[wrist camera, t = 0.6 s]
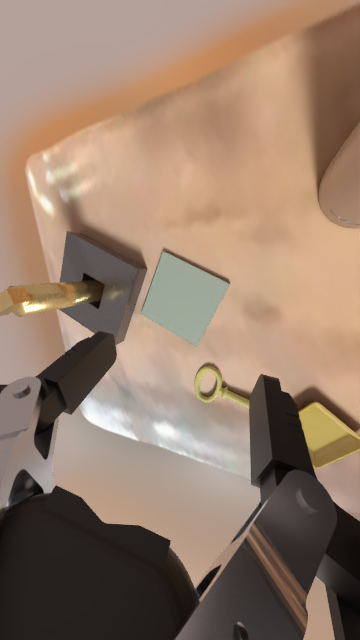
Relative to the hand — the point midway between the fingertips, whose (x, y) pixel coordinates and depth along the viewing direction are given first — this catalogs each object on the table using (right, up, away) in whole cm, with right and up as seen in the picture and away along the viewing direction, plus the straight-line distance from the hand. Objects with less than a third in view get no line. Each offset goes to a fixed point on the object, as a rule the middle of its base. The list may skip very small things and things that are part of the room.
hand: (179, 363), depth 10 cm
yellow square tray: (+21, -14, +19) cm, 32 cm away
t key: (-16, +9, +28) cm, 33 cm away
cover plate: (-16, +9, +28) cm, 33 cm away
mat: (0, +6, +22) cm, 22 cm away
